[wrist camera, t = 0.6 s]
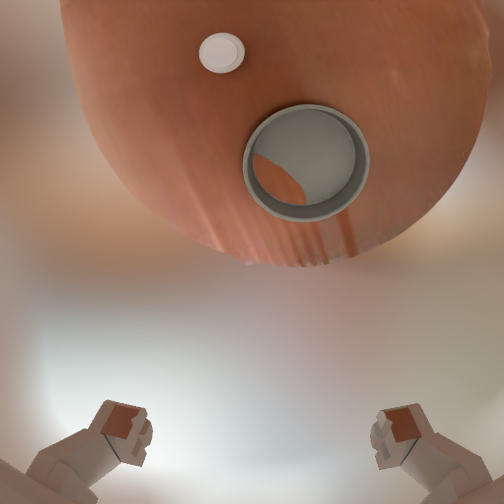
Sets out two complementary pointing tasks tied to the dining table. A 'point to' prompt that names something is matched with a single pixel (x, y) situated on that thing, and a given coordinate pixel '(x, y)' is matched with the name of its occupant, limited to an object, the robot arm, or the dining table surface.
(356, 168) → the cake pan
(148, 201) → the dining table surface
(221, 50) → the supplement bottle
